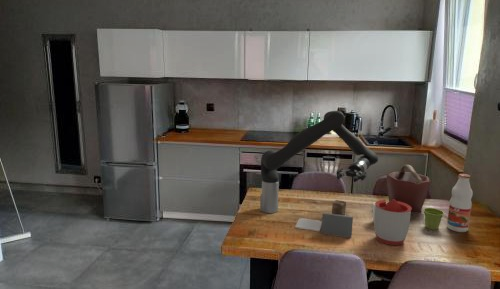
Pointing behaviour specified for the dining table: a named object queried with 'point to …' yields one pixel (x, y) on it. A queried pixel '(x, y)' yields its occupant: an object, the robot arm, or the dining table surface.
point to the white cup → (374, 210)
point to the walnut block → (339, 207)
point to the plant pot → (433, 218)
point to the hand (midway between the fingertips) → (346, 178)
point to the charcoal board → (337, 225)
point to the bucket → (408, 187)
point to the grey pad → (309, 224)
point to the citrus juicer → (391, 221)
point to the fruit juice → (460, 205)
